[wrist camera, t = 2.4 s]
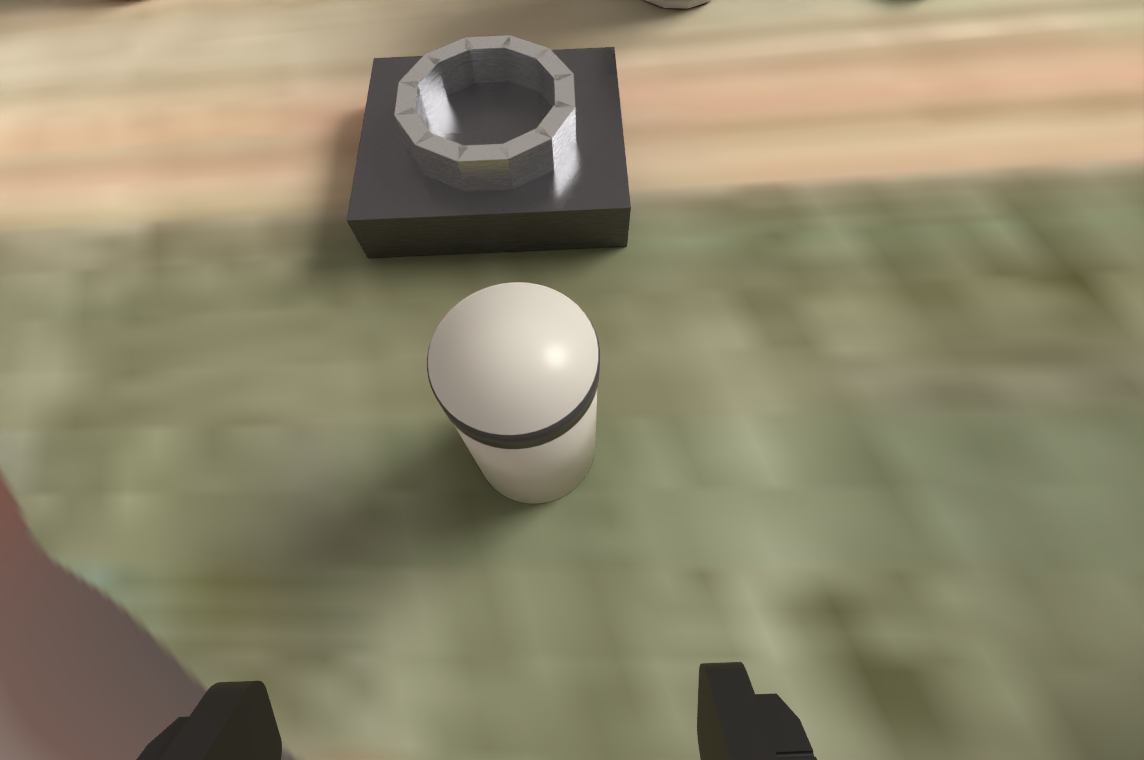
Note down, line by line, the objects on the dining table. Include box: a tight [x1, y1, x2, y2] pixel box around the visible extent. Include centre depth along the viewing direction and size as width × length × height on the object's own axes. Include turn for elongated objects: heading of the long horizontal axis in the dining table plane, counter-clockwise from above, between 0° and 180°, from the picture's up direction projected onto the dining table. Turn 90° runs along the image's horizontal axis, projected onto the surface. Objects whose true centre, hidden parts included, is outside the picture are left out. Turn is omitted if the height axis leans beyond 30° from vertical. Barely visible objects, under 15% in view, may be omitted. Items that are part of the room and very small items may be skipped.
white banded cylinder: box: [427, 282, 600, 504], centre depth 22 cm, size 6×6×9 cm
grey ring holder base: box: [347, 35, 631, 258], centre depth 31 cm, size 14×12×5 cm
